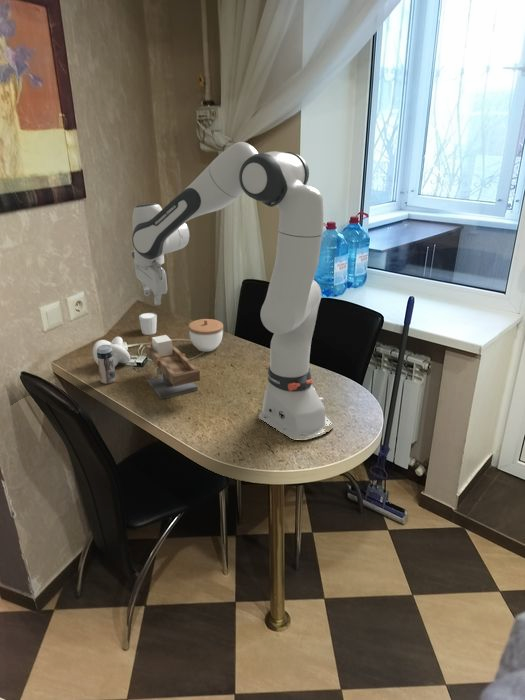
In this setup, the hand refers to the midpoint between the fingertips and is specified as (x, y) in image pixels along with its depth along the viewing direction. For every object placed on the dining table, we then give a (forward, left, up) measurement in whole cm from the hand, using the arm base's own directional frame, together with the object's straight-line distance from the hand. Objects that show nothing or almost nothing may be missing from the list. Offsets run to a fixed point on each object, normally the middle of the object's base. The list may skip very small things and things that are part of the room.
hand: (152, 299), depth 159 cm
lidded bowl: (+8, -22, -25) cm, 34 cm away
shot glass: (+32, -8, -25) cm, 41 cm away
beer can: (-1, +17, -25) cm, 30 cm away
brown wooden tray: (-14, 0, -25) cm, 28 cm away
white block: (-6, 0, -16) cm, 17 cm away
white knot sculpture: (+10, +13, -25) cm, 30 cm away
